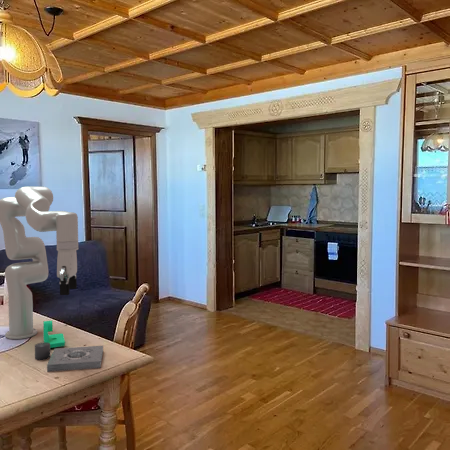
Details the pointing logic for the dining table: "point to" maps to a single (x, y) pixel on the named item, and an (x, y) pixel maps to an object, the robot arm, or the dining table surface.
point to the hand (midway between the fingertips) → (68, 291)
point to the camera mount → (53, 339)
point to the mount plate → (75, 358)
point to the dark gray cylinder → (42, 351)
